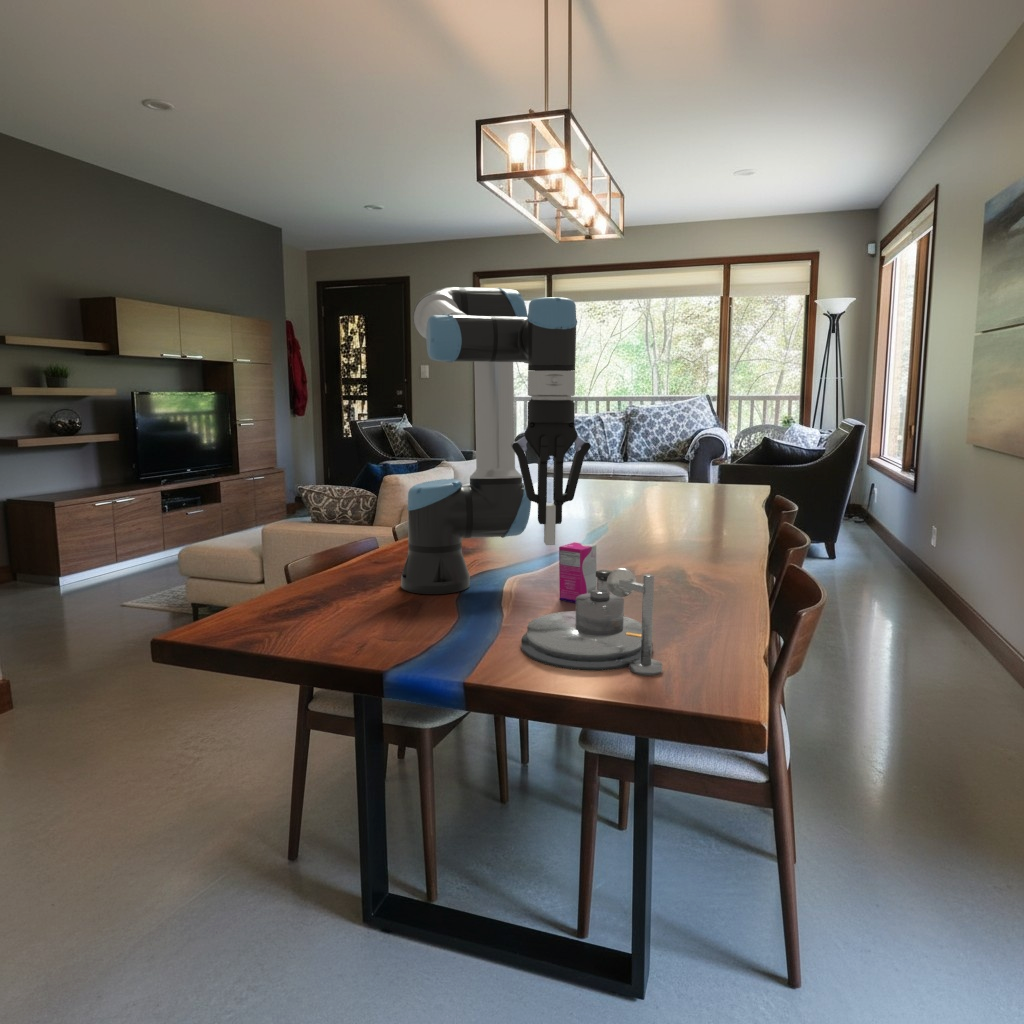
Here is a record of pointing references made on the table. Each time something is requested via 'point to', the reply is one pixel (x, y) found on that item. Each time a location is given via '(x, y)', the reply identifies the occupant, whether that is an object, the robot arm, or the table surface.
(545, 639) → the turntable
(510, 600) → the table surface
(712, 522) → the table surface
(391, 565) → the table surface
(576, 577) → the supplement box
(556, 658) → the base
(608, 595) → the cover
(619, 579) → the metal lever handle
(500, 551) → the table surface
